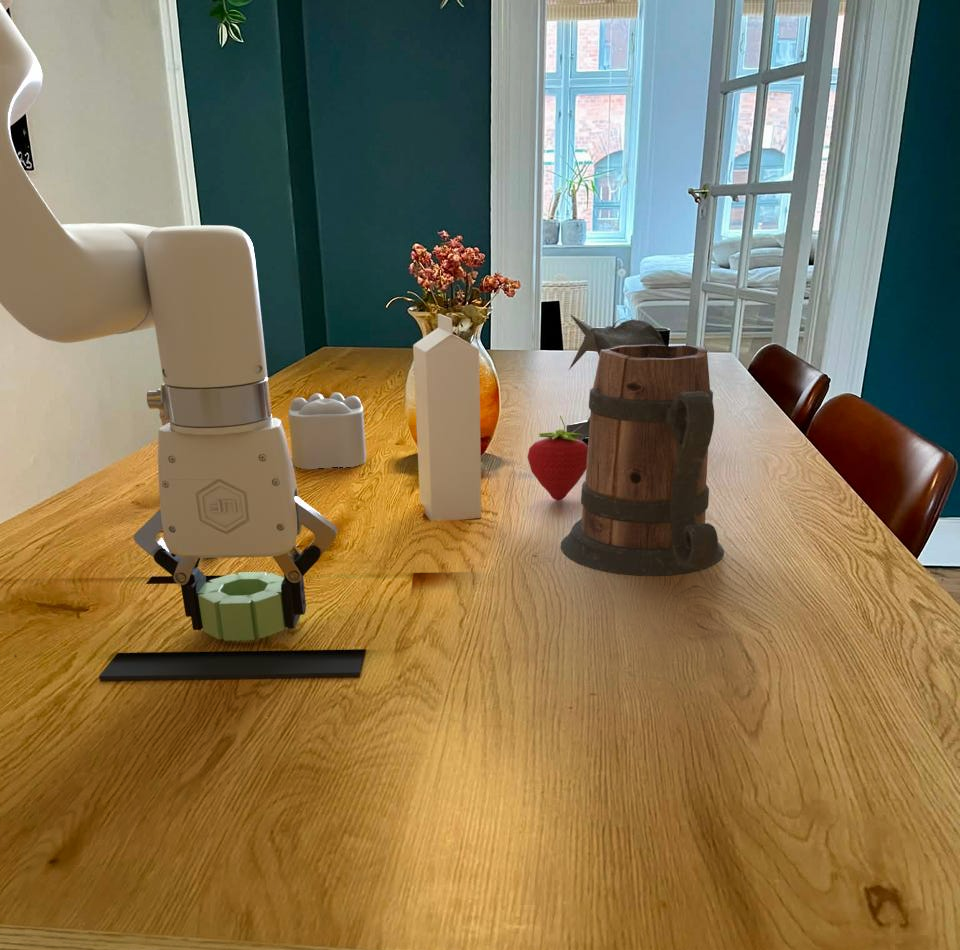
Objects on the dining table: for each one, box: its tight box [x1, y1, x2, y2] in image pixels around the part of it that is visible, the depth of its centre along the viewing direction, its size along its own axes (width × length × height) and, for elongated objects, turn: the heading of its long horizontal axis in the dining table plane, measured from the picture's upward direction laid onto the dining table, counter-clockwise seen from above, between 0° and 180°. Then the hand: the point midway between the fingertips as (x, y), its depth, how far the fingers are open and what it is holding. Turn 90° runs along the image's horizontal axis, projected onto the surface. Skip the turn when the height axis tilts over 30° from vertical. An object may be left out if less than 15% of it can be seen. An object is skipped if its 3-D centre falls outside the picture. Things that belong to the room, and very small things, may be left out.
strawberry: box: [527, 415, 588, 501], centre depth 113 cm, size 6×8×10 cm
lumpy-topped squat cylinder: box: [287, 391, 367, 470], centre depth 134 cm, size 10×13×9 cm
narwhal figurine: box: [565, 314, 666, 441], centre depth 140 cm, size 14×15×18 cm
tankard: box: [560, 345, 725, 577], centre depth 92 cm, size 24×17×20 cm
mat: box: [98, 648, 367, 682], centre depth 79 cm, size 20×14×1 cm
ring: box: [198, 571, 288, 642], centre depth 78 cm, size 7×7×3 cm
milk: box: [412, 313, 483, 522], centre depth 106 cm, size 6×6×22 cm
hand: (247, 621), depth 78 cm, fingers closed on ring, 6 cm apart
